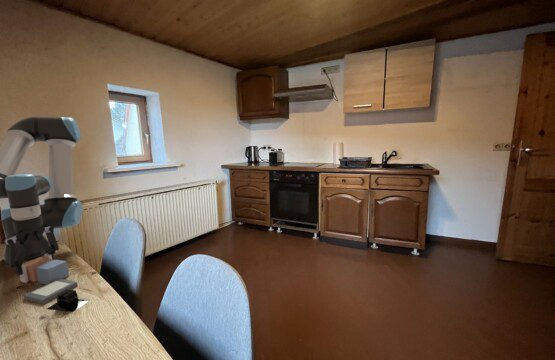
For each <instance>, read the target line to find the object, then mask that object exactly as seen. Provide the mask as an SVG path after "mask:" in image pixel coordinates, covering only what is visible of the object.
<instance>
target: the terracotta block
mask: <svg viewBox="0 0 555 360" xmlns="http://www.w3.org/2000/svg"><path fill="white" fill-rule="evenodd" d="M50 261H51V259H49V258H45V257H42V256H38V257H35V258H33V259H32V260H31V259H30V260H29V261H26V262H23V263H22V264H23V265H25V266H26V271H27V276H28V282H34V283H35V282H38V276H37V271H36V267H38V266H40V265H43V264H45V263H47V262H50Z"/></svg>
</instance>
